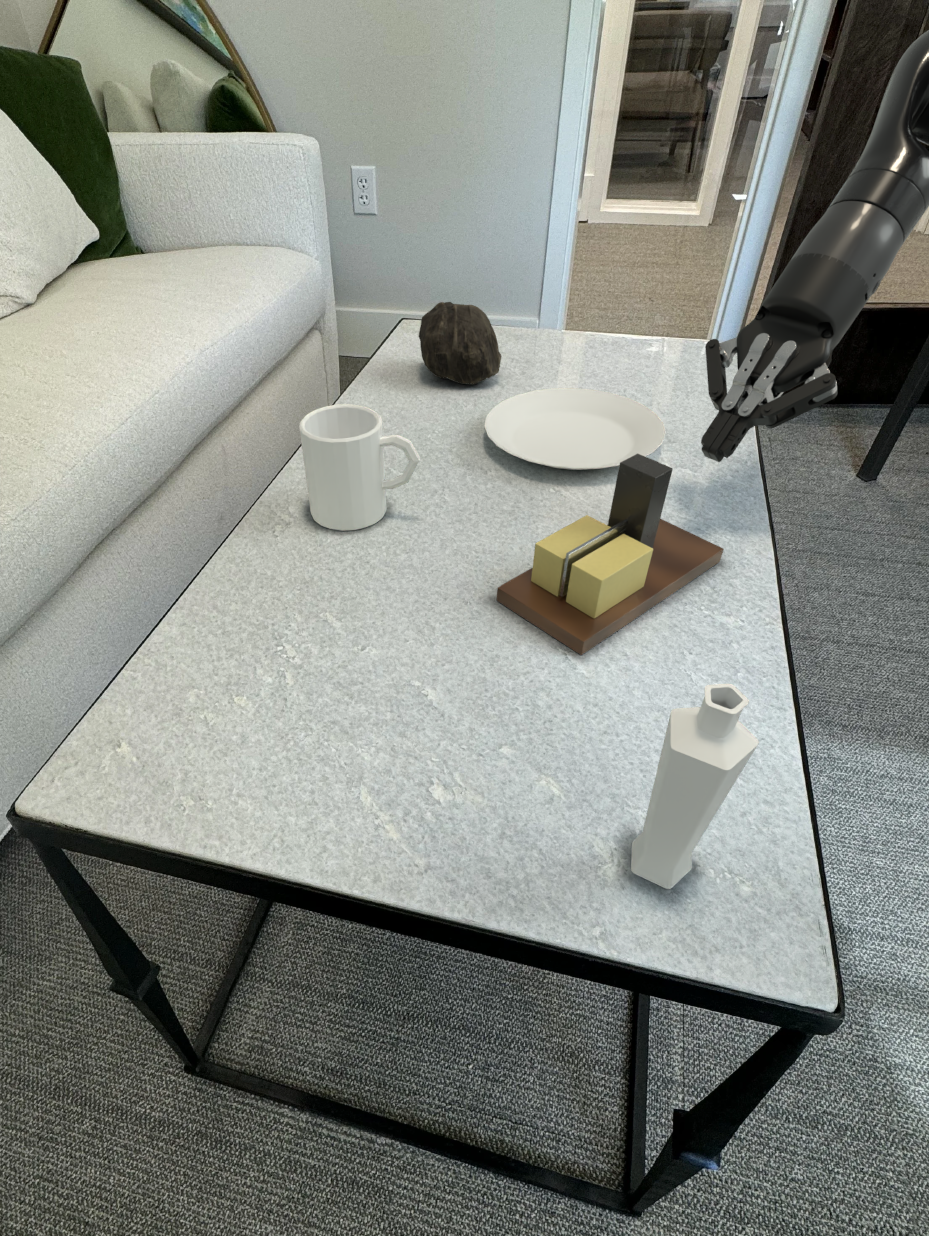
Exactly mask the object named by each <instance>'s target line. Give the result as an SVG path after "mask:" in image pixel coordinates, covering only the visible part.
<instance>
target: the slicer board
mask: <svg viewBox="0 0 929 1236" xmlns="http://www.w3.org/2000/svg"><path fill="white" fill-rule="evenodd" d="M724 550H725V548H723V547H721V546H719V545H717V544H715V543H713V542H711V541H709V540H706V539H705V538H702V537H700V536H698V535H696V534H693V533H691V532H690V531H687V530H686V529H684V528H681V527H679V526H677V525H675V524H673V523H671V522H669V521H666V520H664V519H662V518H660V521H659V525H658V529H657V533H656V537H655V541H654V545H653V552H652V556H651V560H650V564H649V568H648V572H647V576H646V580H645V584H644V587H642V588H641V589H639V590H638V591H636V592H635V593H633V594H632V595H630V596H628V597H627V598H625V599H624V600H622V601H621V602H619V603H618V604H616V605H615V606H613V607H611V608H610V609H608V610H607V611H605V612H604V613H602V614H601V615H599V616H598V617H596V618H595V619H594V618H592V617H590V616H589V615H587V614H585V613H584V612H582V611H580V610H579V609H577V608H575V607H574V606H572V605H570V604H569V603H567V602H566V597H567V595H565V596H563V597H561V596H558V597H557V596H555V595H554V594H552V593H550V592H549V591H547V590H545V589H544V588H542V587H540V586H539V585H537V584H535V583H534V582H532V581H531V577H532V568H533V567H531V568H529V569H527V570H526V571H524V572H522V573H520V574H518V575H517V576H515V577H513V578H512V579H510V580H508V581H507V582H505V583H503V584H501V585H499V586H498V587H497V588H496V589H497V591H496V601H497V602H498V603H500V604H501V605H503V606H504V607H506V608H507V609H509V610H510V611H512V612H513V613H515V614H516V615H518V616H519V617H521V618H523V619H524V620H525V621H527V622H529V623H531V624H532V625H534V626H535V627H537V628H538V629H540V630H541V631H543V632H545V633H546V634H547V635H549V636H550V637H552V638H554V639H555V640H557V642H560V643H561V644H563V645H565V646H566V647H568V648H569V649H571V650H572V651H574V652H575V653H577V654H578V655H580V656H582V655H584V654H585V653H588V652H589V651H590V650H592V649H594V648H595V647H596V646H598V645H599V644H600V643H602V642H604V641H605V640H607V639H608V638H609V637H611V636H612V635H614V634H615V633H617V632H618V631H620V630H621V629H622V628H624V627H626V626H627V625H628V624H630V623H631V622H633V621H634V620H636V619H637V618H639V617H641V616H642V615H644V614H645V613H646V612H648V611H649V610H651V609H652V608H654V607H655V606H657V605H658V604H659V603H661V602H663V601H664V600H666V599H667V598H669V597H670V596H671V595H673V594H674V593H676V592H677V591H679V590H680V589H683V588H684V587H685V586H686V585H688V584H689V583H691V582H692V581H694V580H695V579H696V578H699V576H702V575H703V574H704V573H706V572H707V571H708V570H710V569H711V568H713V567H715V566H716V565H718V564H719V563H720V562H721V559H722V556H723V553H724Z"/></svg>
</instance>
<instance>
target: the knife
mask: <svg viewBox="0 0 929 1236" xmlns="http://www.w3.org/2000/svg"><path fill="white" fill-rule="evenodd" d="M673 470H674V468H673V467H670V466H668V465H666V464H663V463H661V462H659V461H657V460H654V459H652V458H649V457H647V456H646V457H645V456H642V455H640V454H636V455H634V456H632V457H630V458H628V459H626V460H624V461H622V462H620V465H619V466H618V471H617V476H616V481H615V486H614V491H613V497H612V502H611V506H610V512H609V517H608V522H607V525H608V526H610V527H611V528H609V529H608V530H606V531H604V532H603V533H601V534H599V535H597V536H596V537H594V538H592V539H590V540H589V541H587V542H585V543H583V544H582V545H580V546H578V547H576V548H575V549H573V550H571V551H570V552H568V553H566V558H565V565H564V571H563V578H562V584H561V591H560V596H561V597H563V596H565V595H567V591H568V585H569V579H570V573H571V566H572V564H573V563H574V562H576V561H578V560H580V559H581V558H583V557H585V556H586V555H588V554H590V553H591V552H593V551H595V550H597V549H598V548H600V547H602V546H603V545H605V544H607V543H608V542H610V541H612V540H614V539H615V538H617V537H619V536H620V535H622V534H625V535H627V536H629V537H631V538H633V539H635V540H637V541H639V542H641V543H643V544H645V545H647V546H649V547H651V548H653V545H654V541H655V537H656V533H657V529H658V525H659V521H660V519H661V517H662V514H663V513H662V512H663V510H664V506H665V501H666V497H667V494H668V489H669V486H670V481H671V477H672V474H673V473H672V472H673Z"/></svg>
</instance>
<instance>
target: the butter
mask: <svg viewBox="0 0 929 1236" xmlns="http://www.w3.org/2000/svg"><path fill="white" fill-rule="evenodd" d="M609 528H611V527H610V526H608V524H606V523H603V522H602V521H600V520H598V519H596V518H594V517H592V516H590V515H588V514H586V515H584V516H582V517H581V518H578V519H577V520H575V521H574V522H572V523H569V524H568V525H566V526H565V527H563V528H561V529H559V530H557V531H554V532H553V533H552V534H549V535H548V536H546V537H544V538H543V539H540V540H539V541H537V542H535V544H534V552H533V560H532V567H531V568H532V577H531V581H532V582H534V583H535V584H537V585H539V586H540V587H542V588H544V589H545V590H547V591H549V592H550V593H552V594H554V595H555V596H557V597H558V596H560V591H561V584H562V578H563V571H564V565H565V558H566V553H568V552H570V551H571V550H573V549H575V548H576V547H578V546H580V545H582V544H583V543H585V542H587V541H589V540H590V539H592V538H594V537H596V536H597V535H599V534H601V533H603V532H604V531H606V530H608V529H609ZM652 552H653V548H651V547H649V546H647V545H645V544H643V543H641V542H639V541H637V540H635V539H633V538H631V537H629V536H627V535H625V534H622V535H620V536H619V537H617V538H615V539H614V540H612V541H610V542H608V543H607V544H605V545H603V546H602V547H600V548H598V549H597V550H595V551H593V552H591V553H590V554H588V555H586V556H585V557H583V558H581V559H580V560H578V561H576V562H574V563H573V564H572V566H571V573H570V579H569V585H568V591H567V597H566V602H567V603H569V604H570V605H572V606H574V607H575V608H577V609H579V610H580V611H582V612H584V613H585V614H587V615H589V616H590V617H592V618H594V619H595V618H596V617H598V616H599V615H601V614H602V613H604V612H605V611H607V610H608V609H610V608H611V607H613V606H615V605H616V604H618V603H619V602H621V601H622V600H624V599H625V598H627V597H628V596H630V595H632V594H633V593H635V592H636V591H638V590H639V589H641V588H642V587H644V584H645V580H646V576H647V572H648V568H649V564H650V560H651V556H652Z"/></svg>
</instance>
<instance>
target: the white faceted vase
mask: <svg viewBox="0 0 929 1236" xmlns="http://www.w3.org/2000/svg"><path fill="white" fill-rule="evenodd" d="M703 690H704V697H703V699H702V702H701V704H700V706H694V707H693V706H692V707H679V708H676V707H675V708H672V709H671V710H670V713H669V718H668V721H667V726H666V730H665V735H664V739H663V743H662V748H661V751H660V756H659V760H658V764H657V769H656V771H655V772H656V773H655V776H654V782H653V786H652V790H651V794H650V798H649V802H648V807H647V811H646V815H645V820H644V824H643V828H642V832H641V833H639V835H637V837H635V838H634V840H632V843H631V862H630V871H631V873H632V874H634V875H635V876H638V877H640V878H643V879H645V880H647V881H649V882H651V883H653V884H655V885H657V886H659V887H661V888H663V889H666V890H671V889H672V888H674V887H675V885H677V884H678V883H679V882H680V881H681V880H682V879H683V878H684V877H685V876H686V875H687V874H688V873H690V871H691V870H692V869H693V864H692V862H693V861H692V853H693V852H694V850H695V849H696V847H697V846H698V843H699V842H700V840H701V839H702V837H703V836H704V834H705V832H706V830H707V829H708V828H709V826H710V825H711V823H712V821H713V819H714V818H715V817H716V814H717V812H718V811H719V810H720V808H721V806H722V805H723V803H724V802H725V800H726V798H727V797H728V795H729V793H730V791H731V790H732V788H733V786H734V785H735V783H736V782H737V780H738V778H739V777H740V775H741V773H743V770H744V769H745V767H746V765H747V764H748V762H749V760H750V759H751V758H752V756H753V754H754V753H755V752H756V751H755V750H756V749H757V747H758V746H759V744H760V741H759V739H758V738H757V737H756V736H755V735H754V734H753V733H752V732H751V731H750V730H749V728H747V727H746V726H745V725H744V724H743V723H742V722H741V721H740V720H739V719H740V717H741V715H742V712H743V709H744V708H746V707H747V706H748V705H749V704H750V700H749V698H748V697H747V696H746V695H745V694H744V693H743V692H742V691H741V690H740V689H738V687H737V686H735V685H734V684H732V683H717V684H716V683H715V684H707V685H705V686H704V689H703Z"/></svg>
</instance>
